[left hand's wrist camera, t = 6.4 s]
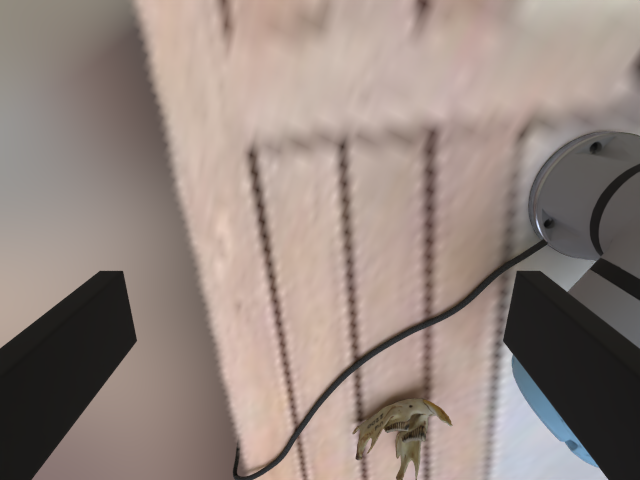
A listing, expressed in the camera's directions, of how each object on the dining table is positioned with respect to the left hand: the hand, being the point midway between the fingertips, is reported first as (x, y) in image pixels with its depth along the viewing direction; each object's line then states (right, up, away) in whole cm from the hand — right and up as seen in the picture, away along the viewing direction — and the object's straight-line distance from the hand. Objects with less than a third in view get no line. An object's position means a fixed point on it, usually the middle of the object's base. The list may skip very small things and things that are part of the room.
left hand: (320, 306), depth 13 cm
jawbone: (+12, -24, +45) cm, 53 cm away
